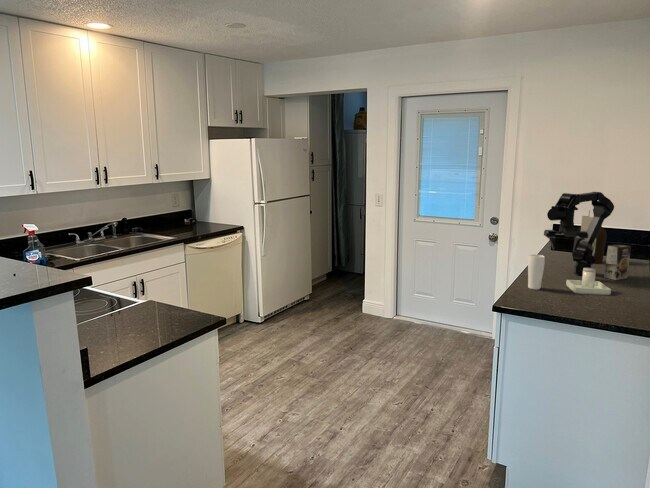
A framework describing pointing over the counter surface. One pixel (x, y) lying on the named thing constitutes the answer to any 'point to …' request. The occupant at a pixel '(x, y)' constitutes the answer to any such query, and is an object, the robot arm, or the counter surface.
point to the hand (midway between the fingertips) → (564, 251)
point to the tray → (598, 288)
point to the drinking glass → (535, 271)
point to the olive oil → (599, 246)
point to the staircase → (586, 222)
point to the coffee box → (617, 262)
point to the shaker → (588, 278)
